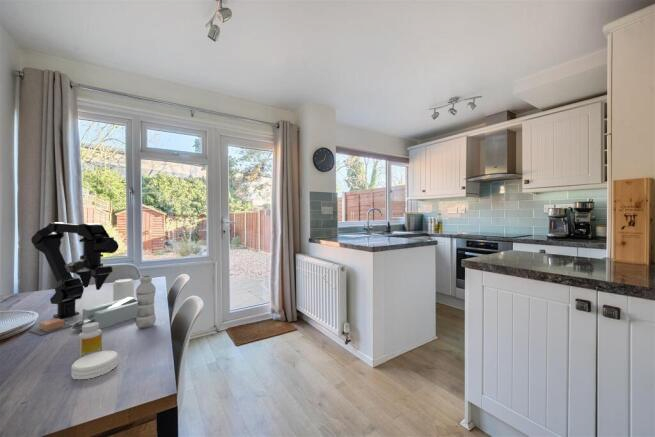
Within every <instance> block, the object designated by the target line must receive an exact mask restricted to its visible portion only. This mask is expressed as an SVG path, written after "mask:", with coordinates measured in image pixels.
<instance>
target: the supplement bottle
mask: <svg viewBox="0 0 655 437" xmlns="http://www.w3.org/2000/svg"><path fill="white" fill-rule="evenodd" d="M98 328H99V323H98V322H93V323H88V324H85V325H83V326H82V328H81V331H82V332H80V333H79V335H78V359H80V358H82V357H84V356H86V355H89V354H92V353H96V352H100V351H103V350H102V348H103V347H102V340H103V337H102V335H103V331H102V329H98Z"/></svg>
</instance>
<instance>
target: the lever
mask: <svg viewBox="0 0 655 437" xmlns="http://www.w3.org/2000/svg"><path fill="white" fill-rule="evenodd" d="M134 298H135V297H134ZM134 298H132V297H127V298H125V299H124V300H122V301H120V302H118V303H116V304H114V305H112V306H110V307H108V308H112V307H116V306H119V305H125V304H127V303H129V302H131V301H133V300H134ZM108 308H106V309H108ZM82 320H83V319H82ZM82 320H81V321H78V322H76V323H74V324H73V325H72V327H71V328H72V329H73V330H76V331H79V330H80V329H82V326H83V325H85V324H88V323H92V322H93V321H94V315H92V316H90V317H88V318H86V319H85V320H83V321H82Z"/></svg>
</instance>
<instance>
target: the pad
mask: <svg viewBox="0 0 655 437" xmlns="http://www.w3.org/2000/svg"><path fill="white" fill-rule="evenodd" d="M72 326H73V325H72V324H68V323H66V322H64V326H63V327H59V328H56V329H52V330H49V331H45V330H42V329H40V326H39V327H37V328H33V329H29V330H28V332H30V333H32V334H35V335H38V336H41V337H42V336H45V335H48V334H51V333H52V334H53V333H55V332H59V331H61V330H62V331H63V330H65V329H68V328H72Z"/></svg>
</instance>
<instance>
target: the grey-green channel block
mask: <svg viewBox="0 0 655 437" xmlns="http://www.w3.org/2000/svg"><path fill="white" fill-rule="evenodd" d="M122 300H124V299H121V300H117V301H113V300H112V301H110V302H107V303H106V302H105V303H102V304H98V305H97V304H96V305H94V306H90V307H85V308H83V309H82V320H81V321H83V320H85V319H86V318H88V317H90V316H92V315H94V321H93V322H98V323H99V328H98V329H101V330H102V329H104V328H107V327H110V326H114V325H116V324H120V323H123V322H126V321H128V320H129V321H130V320H133V319H136V317H137V310H138V304H137V297H134V300H133V301H131V302H129V303H127V304H125V305H119V306H116V307H112V308H108V307H110V306H112V305H114V304H116V303H118V302H120V301H122ZM106 308H108V309H106ZM93 322H92V323H93Z"/></svg>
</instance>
